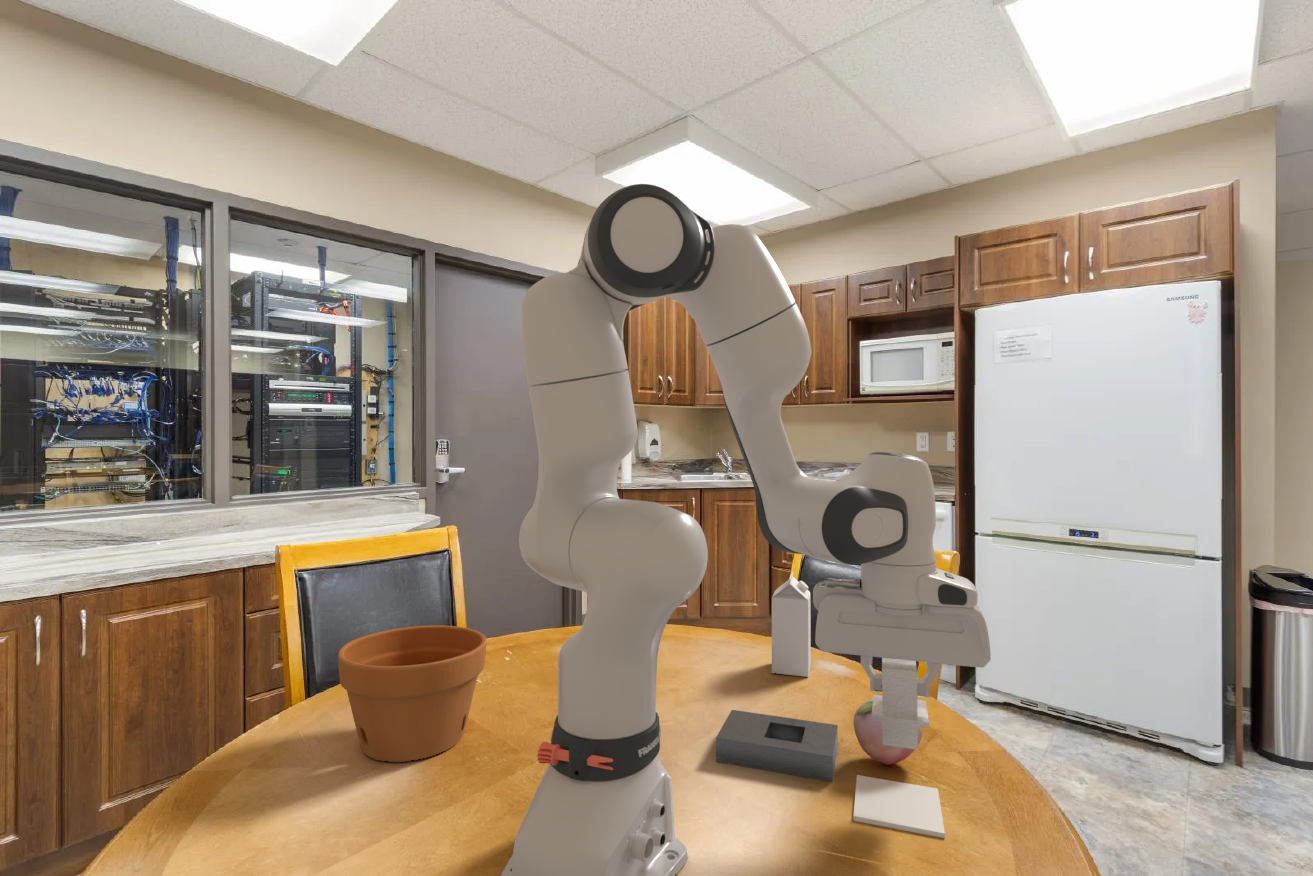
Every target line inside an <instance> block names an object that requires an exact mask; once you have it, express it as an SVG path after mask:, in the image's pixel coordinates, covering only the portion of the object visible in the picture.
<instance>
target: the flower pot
mask: <svg viewBox="0 0 1313 876" xmlns="http://www.w3.org/2000/svg"><path fill="white" fill-rule="evenodd" d="M486 651H487V637H486V635H485V634H483V633H482V632H480V631H478V630H476V629H472V628H469V627H464V626H454V625H437V624H436V625H435V624H434V625H418V626H417V625H414V626H406V627H399V628H392V629H388V630H383V631H378V632H375V633H371V634H368V635H364V636H360V637H358V638H355V639H353V640H351V641H349V642H347V643H345V644H344V645H343V646H342V647H341V648H340V649H339V650H338V652H337V653H338V655H337V659H338V661H337V662H338V674H339V675H338V676H339V684H340V686H341V688H343V689H344V690H345V691H346V692H347V693H346V694H347V696H348V702H349V705H350V708H351V714H352V718H353V722H354V726H355V730H356V733H357V737H358V741H359V744H360V748H361V750H362V753H363V754H364V755H366V756H367V755H368V756H369V757H368V756H367V757H368V758H370V757H371V758H370V759H372V758H373V759H372V760H375V759H376V761H379V760H381V761H380V762H384V761H388V762H387V763H404V762H406V761H407V762H412V761H411V760H415V761H419V760H418V759H420V760H424V759H427V757H428V758H430V756H431V757H434V756H436V754H437V755H439V753H440V754H442V753H443V751H444V752H445V751H448V750H450V749H451V748H454V746H455V745H457V743H458V742H460V740H461V739H462V738H463V735H464V733H465V729H466V727H467V722H468V719H469V715H470V710H471V705H472V700H473V697H474V693H475V688H476V685H477V680H478V677H479V675H480V674H481V673H482V671H483V670H484V668H485V663H486V654H487V652H486ZM449 748H450V749H449ZM441 752H442V753H441ZM433 755H434V756H433ZM423 758H424V759H423Z"/></svg>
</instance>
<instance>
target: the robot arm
mask: <svg viewBox="0 0 1313 876" xmlns="http://www.w3.org/2000/svg"><path fill="white" fill-rule="evenodd" d="M793 295H794V294H792V291H791V289H790V287H789V285H788V283H787V281H786V280H785V277H784V275H783V274H782V272H781V270H780V269H779V267H778V265H777V263H776V261H775V260H774V258H773V256H772V255H771V253H770V252H769V250H768V249H767V247H766V246H765V244H764V243H763V242H762V240H761V239H760V237H759V236H758V235H757V234H756V233H755V231H753V230H752V229H751V228H749V227H747V226H745V225H741V224H733V223H732V224H723V225H718V226H715V227H712V225H711V224H710V222H708V221H707V220H706V219H704V218H703V217H701V216H700V215H699V214H698V213H696V212H695V211H693V210H692V209H690V208H689V206H687V204H685V203H684V202H683V201H682V200H681V199H680V198H679V197H677V196H676V195H675V194H674V193H672V192H671V191H668V190H667V189H665V188H663V187H661V186H657V185H655V184H648V183H639V184H637V183H636V184H632V185H631V184H630V185H627V186H624V187H622V188H620V189H618V190H615V191H613V193H611V194H610V195H608V196H607V197H606V198H605V199H604V200H603V201H602V202H601V203H600V204H599V205H598V207H596V210H595V211H594V213H593V215H592V217H591V220H590V223H589V224H588V226H587V229H586V231H585V235H584V238H583V243H582V247H581V252H580V257H579V259H578V262H577V265H576V267H574V268H573V269H570V270H569V271H566V272H559V273H555V274H550V275H548V276H546V277H543V278H542V279H540V280H539V281H536V282H535V283H534V284H533V285H531V286H530V287H529V288H528V289H527V291H526V292H525V294H524V297H523V300H522V303H521V341H522V355H523V365H524V370H525V378H526V382H527V390H528V395H529V400H530V406H531V412H532V418H533V425H534V430H535V431H534V432H535V437H536V443H537V453H538V473H537V474H538V477H537V485H536V492H535V497H534V502H533V505H532V507H531V508H530V510H528V512H527V513H526V515H525V517H524V518H523V520H522V523H521V525H520V528H519V529H520V530H519V534H518V547H519V551H520V554H521V557H522V559H523V561H524V563H525V564H526V566H528V568H530V569H531V570H532V571H534V572H535V573H537V574H538V575H539V576H541V577H542V578H543V579H546V580H547V581H549V582H550V583H553V584H555V585H557V586H561V587H564V588H568V589H572V590H575V591H576V590H577V591H581V592H585V593H586V595H587V596H586V597H587V603H586V604H587V605H586V611H585V616H584V620H583V622H582V625H581V628H580V630H578V631H576V632H575V633H574V634H573V633H572V634H571V635H570V637H568V638H567V639H566V640H565V641H564V643H563V644H562V646H561V648H560V650H559V652H558V657H557V682H558V683H557V705H558V706H557V715H556V716H555V719H554V722H553V729H552V731H551V735H550V740H549V741H550V742H547V741H542V742H541V744H540V745H539V747H538V751H537V755H536V757H537V761H538V763H540V764H548V765H547V768H546V769H545V771H544V773H543V775H542V777H541V780H540V782H539V784H538V786H537V788H536V790H535V792H534V794H533V797H532V799H531V801H530V803H529V806H528V808H527V810H526V813H525V814H524V817H523V819H522V822H521V824H520V827H519V829H518V831H517V833H516V836H515V839H514V845H513V850H512V855H511V857H510V858H509V860H508V862H507V863H506V865H505V867H504V868H503V870H502V872H501V874H500V876H676V875H677V874H678V873H679V872H680V871H681V869H682V868H683V867H684V866H685V864H686V863H687V862H688V858H689V857H688V849H687V847H686V845H685V844H684V843H683V842H682V841H681V840H679V838H677V836H676V829H675V811H674V809H675V808H674V798H673V797H674V796H673V795H674V794H673V782H672V778H671V776H670V775H669V772H668V771H667V770H666V768H665V767H664V765H663V762H662V761H661V758H660V756H659V753H660V751H661V750H660V749H661V736H662V735H661V734H662V733H661V728H662V727H661V725H660V716H659V714H658V712H657V711H656V708H657V702H656V701H657V672H658V671H657V670H658V656H659V655H658V654H659V651H660V650H659V649H660V644H661V641H662V637H663V633H664V630H665V628H666V625H667V623H668V621H669V619H670V618H671V616H672V615H673V613H674V612H675V611H676V609H677V608H679V606H680V605H681V604H683V603H684V602H686V601H687V600H689V599H690V598H691V597H692V596H693V595H694V593H695V592H696V591H697V590H698V588H699V587H700V585H701V583H702V581H703V580H704V577H705V573H706V571H707V565H708V560H709V559H708V557H709V552H708V543H707V538H706V536H705V533H704V530H703V528H702V527H701V525H700V524H699V522H698V521H697V520H696V519H695V517H693V516H691V515H690V514H688V513H686V512H683V511H680V510H679V509H676V508H673V507H671V506H668V505H665V504H662V503H659V502H655V501H648V500H639V499H638V500H636V499H626V498H625V499H624V498H620V497H619V494H618V486H617V485H618V474H619V469H620V464H621V462H622V460H624V458H625V457H626V456H628V455H629V454H630V453H631V451H632V450H633V449H634V448H635V446H636V444H637V441H638V436H639V431H638V430H639V429H638V423H637V417H636V410H635V404H634V399H633V398H634V397H633V392H632V386H631V385H632V384H631V380H630V373H629V370H628V369H629V367H628V363H627V361H628V360H627V357H626V356H627V355H626V352H625V345H624V344H625V343H624V325H625V320H626V316H627V314H628V312H630V311H632V310H634V309H636V308H639V307H641V306H643V305H646V304H650V303H653V302H656V301H658V300H660V299H664V298H668V299H672V300H674V301H676V302H677V303H679V304H680V305H681V306H682V307H683V308H684V309H685V310H686V311H687V313H688V314H689V316H690V317H691V319H692V320H694V323H695V324H696V328H697V330H698V332H699V335H700V337H701V339H702V341H703V344H704V346H705V348H706V350H707V352H708V355H709V357H710V359H711V362H712V364H713V366H714V369H715V371H716V374H717V377H718V379H719V382H720V384H721V388H722V393H723V401H724V405H725V410H726V413H727V416H728V419H729V422H730V423H729V424H730V425H731V429H732V431H733V434H734V436H735V439H736V441H737V444H738V447H739V450H740V452H741V455H742V458H743V460H744V463H745V466H746V469H747V470H748V473H749V474H748V475H749V477H750V479H751V483H752V485H753V489H754V493H755V494H754V495H755V506H756V516H757V517H756V518H757V521H758V522H757V523H758V526H759V530H760V531H761V534H762V535H763V537H764V539H765V540H766V541H767V543H769V544H770V545H771V546H772V547H774V549H777V550H779V551H781V552H785V553H791V554H797V555H805V556H808V557H813V558H815V559H818V560H819V559H820V560H823V561H828V562H832V563H835V564H840V565H843V566H844V565H845V566H857V565H859V566H860V579H853V578H852V579H851V578H844V579H843V578H842V579H841V578H840V579H839V578H835V577H826V578H824V580H821V581H818V582H817V583H815V586H814V587H813V589H812V603H813V606H814V608H815V609H816V611H818V612H817V617H816V625H815V636H814V637H815V638H814V639H815V640H814V641H815V644H816V646H817V647H818V649H819V650H820V651H821V652H825V653H832V654H833V653H834V654H843V655H855V656H860V665H861V667H862V668H863V670H864V671H865V673H866V675H867V677H868V678H869V690H870V692H880V693H882V673H876V671H875V669H874V668H873V657H874V658H881V659H882V658H891V659H901V660H911V661H916V662H923V663H925V665H926V670H927V671H926V672H925V674H924V676H923V677H920V678H919V677H917V697H920V698H928V699H929V698H930V693H931V690H930V686H931V685H932V683H933V682H934V681H935V679H936V678H937V676H938V675H939V673H940V664H942V665H943V664H944V665H952V666H961V667H970V668H973V667H975V668H980V669H981V668H985V667H986V666H987V665H988V664H989V663H990V662H991V656H992V655H991V654H992V652H991V645H990V644H991V643H990V635H989V631H988V626H987V622H986V620H985V617H984V615H983V612H982V611H981V609H980V607H979V606H978V600H979V599H978V597H979V596H978V595H979V594H978V590H977V587H976V585H975V584H974V583H973V582H972V581H970V579H968V578H966V577H964V576H961V575H958V574H956V573H955V574H954V573H951V572H949V571H945V570H942V569H940V568H937V556H936V551H935V549H934V543H933V538H934V532H935V529H936V525H937V524H936V523H937V521H936V520H937V519H936V518H937V517H936V497H935V496H936V495H935V485H934V481H933V477H932V472H931V469H930V467H929V464H928V463H927V462H926V461H924V460H923V459H922V458H920V457H917V456H915V455H910V454H905V453H893V452H890V451H888V452H886V451H877V452H875V451H874V452H871V453H868V454H866V455H865V457H864V459H863V461H862V462H861V464H859V465H858V466H857V467H856V468H854V470H852V471H850V472H849V473H847V474H845V475H843V476H842V477H839V478H837V479H835V481H833V480H832V481H831V480H830V481H829V480H828V481H827V480H819V479H814V478H812V477H810V476H808V475H807V474H806V473H804V472H803V471H802V470H801V469H800V467H799V465H798V464H797V460H796V458H795V455H794V452H793V450H792V446H791V443H790V441H789V437H788V435H787V432H786V429H785V426H784V423H783V421H782V414H781V412H782V411H781V410H782V404H783V402H784V399H785V398H786V397H787V396H788V394H790V393H791V392H792V391H793V390H794V389H795V388H796V387H797V385H799V383H800V382H801V381H802V379H803V378H804V376H805V374H806V372H807V371H808V370H807V369H808V367H809V364H810V361H811V357H812V353H813V351H812V345H811V344H812V343H811V339H810V335H809V331H808V328H807V325H806V323H805V320H804V317H803V315H802V313H801V311H800V309H799V306H798V304H797V302H796V299H795V297H794V296H793ZM675 874H676V875H675Z"/></svg>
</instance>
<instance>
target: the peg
mask: <svg viewBox="0 0 1313 876" xmlns="http://www.w3.org/2000/svg"><path fill="white" fill-rule="evenodd" d="M881 674H882V692H881V693H882V694H881V695H879V694H872V699H873V705H872V720H875V721H883V745H888V746H895V747H902V748H909V749H915V751H918V750H919V744H918V726H920V727H922V728H928V729H929V728H930V721H929V714H928V706H927V702H926V700H921V699H918V696H917V678H918V668H917V661H911V660H901V659H891V658H881Z"/></svg>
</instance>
